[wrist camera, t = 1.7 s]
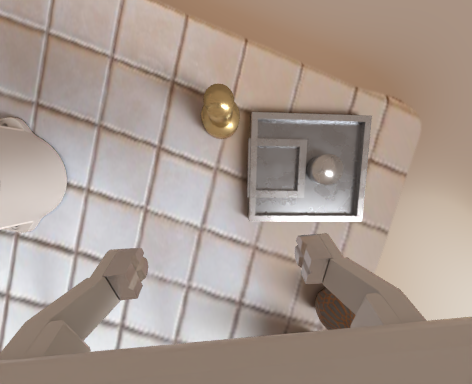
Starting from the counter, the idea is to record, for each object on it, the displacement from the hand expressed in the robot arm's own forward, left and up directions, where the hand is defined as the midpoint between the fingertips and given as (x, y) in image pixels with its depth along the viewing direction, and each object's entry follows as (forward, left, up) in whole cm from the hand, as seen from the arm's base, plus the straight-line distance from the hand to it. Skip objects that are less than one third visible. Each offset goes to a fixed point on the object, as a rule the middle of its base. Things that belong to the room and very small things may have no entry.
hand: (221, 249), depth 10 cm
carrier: (+14, +5, -24) cm, 29 cm away
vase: (+20, -20, -25) cm, 38 cm away
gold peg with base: (-1, +13, -24) cm, 27 cm away
